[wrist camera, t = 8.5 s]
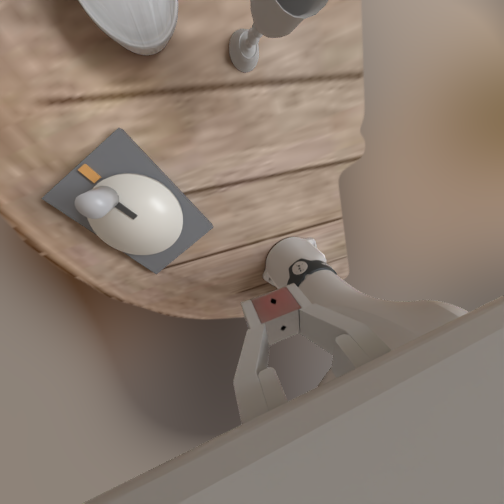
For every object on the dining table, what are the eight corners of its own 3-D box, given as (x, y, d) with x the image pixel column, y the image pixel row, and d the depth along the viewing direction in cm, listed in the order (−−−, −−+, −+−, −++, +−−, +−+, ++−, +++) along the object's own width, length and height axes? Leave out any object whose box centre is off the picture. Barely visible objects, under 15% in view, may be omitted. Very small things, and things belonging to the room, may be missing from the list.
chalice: (228, 82, 31) (268, 23, 16) (216, 23, 27) (254, -125, 13) (267, 75, 32) (338, 14, 17) (261, 17, 29) (344, -125, 14)
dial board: (212, 224, 42) (213, 228, 40) (157, 269, 43) (156, 275, 41) (122, 128, 30) (117, 127, 28) (49, 195, 31) (39, 199, 29)
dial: (198, 215, 38) (201, 229, 31) (150, 263, 40) (144, 286, 33) (127, 152, 30) (111, 153, 23) (70, 216, 31) (40, 234, 25)
